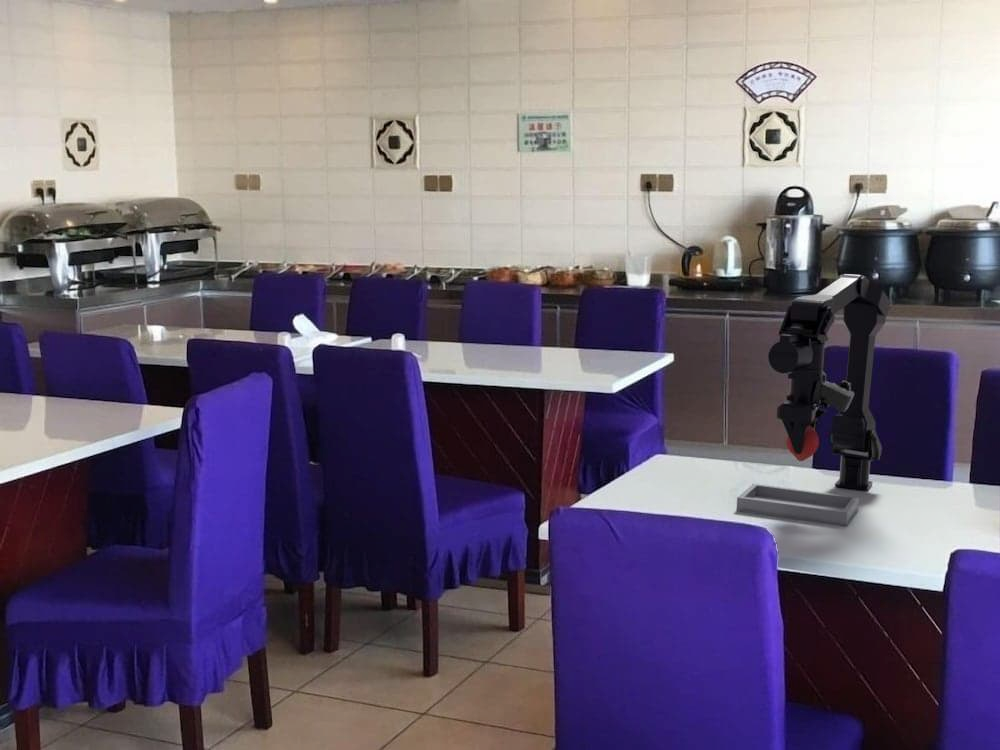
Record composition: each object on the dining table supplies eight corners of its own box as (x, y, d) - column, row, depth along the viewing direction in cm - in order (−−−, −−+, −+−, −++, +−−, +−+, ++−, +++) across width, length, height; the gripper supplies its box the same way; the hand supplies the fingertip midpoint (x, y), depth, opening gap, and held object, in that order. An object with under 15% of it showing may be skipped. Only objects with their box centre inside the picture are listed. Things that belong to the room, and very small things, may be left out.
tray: (752, 496, 235) (753, 483, 235) (857, 510, 227) (858, 497, 226) (736, 510, 224) (737, 497, 224) (846, 526, 216) (847, 512, 215)
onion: (818, 459, 226) (821, 417, 224) (816, 466, 220) (818, 423, 219) (786, 456, 228) (789, 414, 226) (783, 462, 222) (786, 420, 221)
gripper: (842, 378, 209) (836, 466, 212) (860, 364, 226) (855, 445, 229) (778, 372, 214) (773, 458, 217) (800, 359, 231) (795, 439, 233)
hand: (801, 450), depth 224 cm, fingers closed on onion, 6 cm apart
